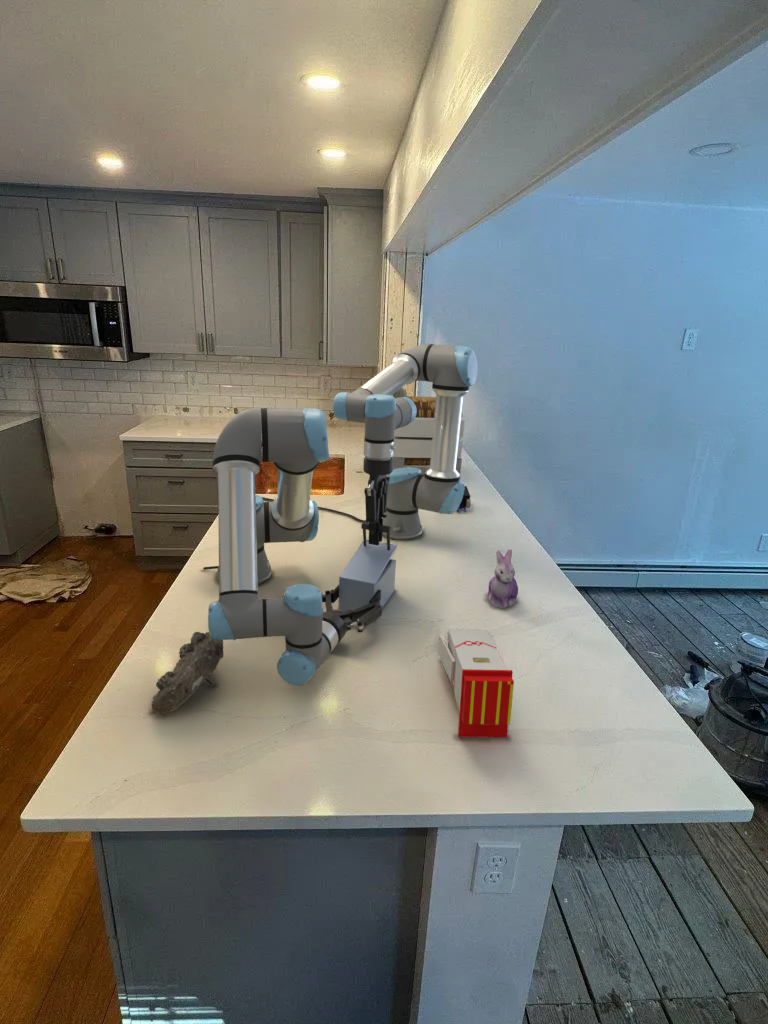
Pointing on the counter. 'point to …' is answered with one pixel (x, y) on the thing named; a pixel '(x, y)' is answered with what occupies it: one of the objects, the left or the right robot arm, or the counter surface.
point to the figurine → (503, 582)
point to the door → (369, 559)
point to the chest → (367, 590)
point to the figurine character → (465, 500)
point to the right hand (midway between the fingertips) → (375, 542)
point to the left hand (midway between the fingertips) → (360, 590)
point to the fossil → (188, 672)
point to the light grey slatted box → (419, 435)
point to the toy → (478, 682)
